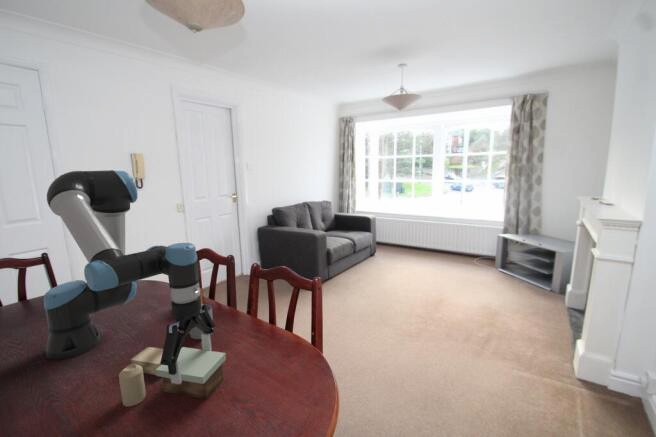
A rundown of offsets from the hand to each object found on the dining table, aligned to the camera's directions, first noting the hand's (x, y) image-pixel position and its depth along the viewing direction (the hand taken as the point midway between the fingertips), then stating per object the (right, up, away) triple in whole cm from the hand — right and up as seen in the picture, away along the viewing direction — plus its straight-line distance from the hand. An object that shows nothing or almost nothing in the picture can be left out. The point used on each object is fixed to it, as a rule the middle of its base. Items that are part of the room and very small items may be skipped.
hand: (193, 367), depth 88 cm
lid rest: (-17, -5, +10) cm, 20 cm away
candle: (-15, -7, -4) cm, 17 cm away
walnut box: (0, -6, +1) cm, 6 cm away
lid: (0, 0, 0) cm, 0 cm away
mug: (-24, +2, +51) cm, 57 cm away
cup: (-10, -2, +30) cm, 31 cm away
